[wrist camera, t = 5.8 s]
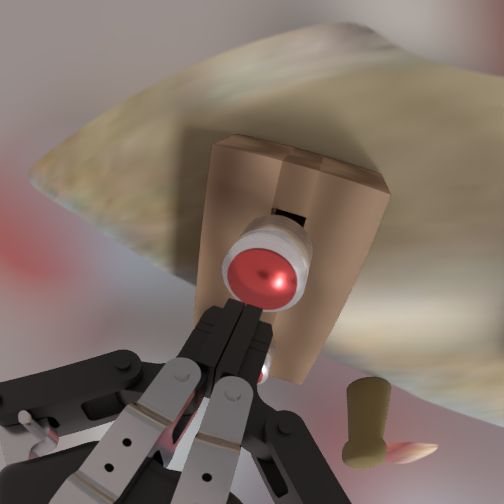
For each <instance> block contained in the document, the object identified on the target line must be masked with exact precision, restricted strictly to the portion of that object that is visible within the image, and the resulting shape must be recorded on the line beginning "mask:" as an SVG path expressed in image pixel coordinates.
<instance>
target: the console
mask: <svg viewBox="0 0 504 504" xmlns="http://www.w3.org/2000/svg"><path fill="white" fill-rule="evenodd" d="M390 196H391V194H390V191H389V189H388V187H387V185H386V183H385V181H384V179H383V176H382V175H381V174H378V173H375V172H373V171H370V170H367V169H364V168H361V167H358V166H355V165H352V164H349V163H345V162H342V161H339V160H336V159H333V158H329V157H326V156H322V155H319V154H316V153H312V152H309V151H305V150H301V149H298V148H294V147H290V146H286V145H282V144H278V143H274V142H270V141H266V140H262V139H257V138H253V137H248V136H244V135H239V134H235V135H233V136H230V137H228V138H226V139H223V140H221V141H218V142H216V143H214V144H212V148H211V156H210V163H209V171H208V178H207V187H206V195H205V203H204V212H203V222H202V231H201V241H200V252H199V262H198V274H197V286H196V300H195V314H194V329H195V326H196V325H197V323H198V322H199V320H200V318H201V316H202V315H203V313H204V311H206V310H207V309H209V308H210V307H212V306H213V305H215V306H218V307H220V308H224V306H225V304H226V302H227V300H228V299H229V298H232V299H235V300H237V299H236V298H235V297H234V296H233V295H232V294H231V293H230V292H229V290H228V289H227V287H226V285H225V283H224V280H223V276H222V265H223V261H224V258H225V257H226V255H227V253H228V252H229V250H230V249H231V248H232V246H233V245H234V243H235V242H236V240H237V239H238V238H239V236H240V235H241V233H242V232H243V231H244V229H245V228H246V226H247V225H248V224H249V223H250V222H251V221H253V220H254V219H256V218H258V217H261V216H264V215H281V216H285V217H287V218H290V219H292V220H294V221H295V222H297V223H298V224H299V225H301V226H302V227H303V228H304V230H305V231H306V232H307V234H308V236H309V237H310V240H311V243H312V249H313V253H312V259H311V263H310V268H309V272H308V277H307V281H306V286H305V289H304V293H303V295H302V297H301V298H300V300H299V301H298V302H297V303H296V304H294V305H293V306H292V307H290V308H288V309H285V310H282V311H278V312H262V316H261V319H260V321H263V322H266V323H269V324H271V325H272V330H273V337H272V338H273V340H274V341H275V344H276V352H275V355H274V358H273V362H272V365H271V368H270V371H269V374H268V375H269V376H272V377H275V378H278V379H282V380H285V381H288V382H292V383H295V384H299V385H302V383H303V381H304V379H305V378H306V376H307V374H308V373H309V371H310V369H311V367H312V366H313V364H314V362H315V360H316V358H317V357H318V355H319V353H320V351H321V349H322V347H323V346H324V344H325V342H326V340H327V338H328V336H329V334H330V332H331V330H332V328H333V326H334V324H335V322H336V321H337V319H338V317H339V315H340V313H341V310H342V308H343V306H344V304H345V302H346V300H347V298H348V296H349V294H350V292H351V290H352V288H353V285H354V283H355V281H356V279H357V277H358V274H359V272H360V270H361V268H362V266H363V263H364V261H365V259H366V256H367V254H368V252H369V249H370V247H371V245H372V242H373V240H374V237H375V235H376V232H377V230H378V227H379V225H380V222H381V220H382V217H383V215H384V212H385V210H386V207H387V204H388V202H389V199H390ZM279 210H283V211H287V212H290V213H293V214H297V215H300V216H303V217H306V219H303V218H299V217H296V216H293V215H289V214H286V213H283V212H279Z"/></svg>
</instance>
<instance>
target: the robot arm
mask: <svg viewBox="0 0 504 504" xmlns="http://www.w3.org/2000/svg"><path fill="white" fill-rule="evenodd" d="M262 312H263V308H260V307H257V306H254V305H250V304H246V303H244V302H241V301H238V300H235V299H232V298H229V299H228V300H227V302H226V304H225V306H224V308H220V307H218V306H215V305H213V306H212V307H210V308H209V309H207V310H206V311H204V313H203V315H202V316H201V318H200V320H199V322H198V323H197V325H196V326H195V329H194V330H193V331H192V333H191V335H190V336H189V338H188V340H187V341H186V343H185V345H184V346H183V348H182V350H181V351H180V353H179V354H178V356H177V357H176V358H174V359H171V360H170V361H168V362H167V363H162V364H155V363H148V362H141V360H140V358H139V357H138V356H137V354H135V353H134V352H132V351H129V350H117V351H114V352H111V353H107V354H104V355H101V356H97V357H94V358H91V359H88V360H84V361H80V362H77V363H73V364H70V365H66V366H63V367H59V368H56V369H52V370H48V371H44V372H40V373H37V374H33V375H29V376H25V377H21V378H17V379H13V380H9V381H5V382H0V440H1V445H2V449H3V453H4V457H5V461H6V465H7V466H6V467H5V468H3V469H2V470H1V472H0V504H243V503H242V502H241V501H240V500H239V499H238V498H237V497H236V496H235V495H234V494H232V493H231V492H230V488H231V484H232V480H233V477H234V473H235V470H236V466H237V462H238V458H239V455H240V450H241V447H243V448H244V449H246V450H247V451H249V452H250V453H251V455H252V458H253V460H254V462H255V464H256V466H257V468H258V470H259V472H260V475H261V477H262V479H263V481H264V483H265V485H266V487H267V489H268V491H269V493H270V495H271V497H272V499H273V501H274V503H275V504H351V502H350V500H349V499H348V497H347V496H346V494H345V492H344V490H343V489H342V487H341V485H340V484H339V482H338V480H337V479H336V477H335V475H334V474H333V472H332V470H331V469H330V467H329V465H328V463H327V462H326V460H325V458H324V457H323V455H322V453H321V451H320V450H319V448H318V446H317V445H316V443H315V441H314V439H313V437H312V436H311V434H310V432H309V430H308V429H307V427H306V425H305V423H304V421H303V420H302V419H301V417H300V416H298V415H297V414H295V413H294V412H291V411H286V410H283V411H276V410H274V409H273V408H271V407H270V406H268V405H267V404H266V403H264V402H263V401H262V399H261V398H260V397H259V395H258V392H257V383H258V380H259V377H260V374H261V371H262V368H263V365H264V362H265V359H266V356H267V353H268V350H269V347H270V343H271V340H272V337H273V330H272V325H271V324H269V323H266V322H263V321H260V319H261V316H262ZM204 397H207V398H209V399H210V400H209V403H208V406H207V408H206V411H205V414H204V417H203V420H202V423H201V426H200V428H199V431H198V433H197V434H196V436H195V438H194V441H193V443H192V446H191V449H190V452H189V454H188V457H187V460H186V463H185V465H184V468H183V471H182V472H180V471H175V470H169V469H166V468H167V466H168V465H169V463H170V461H171V460H172V458H173V455H174V452H175V449H176V447H177V445H178V443H179V442H180V440H181V438H182V437H183V435H184V433H185V432H186V430H187V428H188V427H189V425H190V423H191V422H192V420H193V418H194V417H195V415H196V413H197V411H198V408H199V406H200V404H201V402H202V400H203V398H204ZM114 420H115V422H114V423H113V424H112V425H111V427H110V428H109V429H108V431H107V432H106V433H105V435H104V436H103V437H102V439H101V440H100V441H92V442H88V443H84V444H81V445H78V446H75V447H72V448H69V449H66V450H62V451H59V452H56V453H52V454H49V455H45V453H47V452H50V451H52V450H54V449H55V448H56V447H57V444H58V442H59V437H61V436H64V435H68V434H71V433H75V432H79V431H82V430H86V429H89V428H92V427H96V426H99V425H102V424H105V423H108V422H111V421H114ZM44 455H45V456H44Z"/></svg>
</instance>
